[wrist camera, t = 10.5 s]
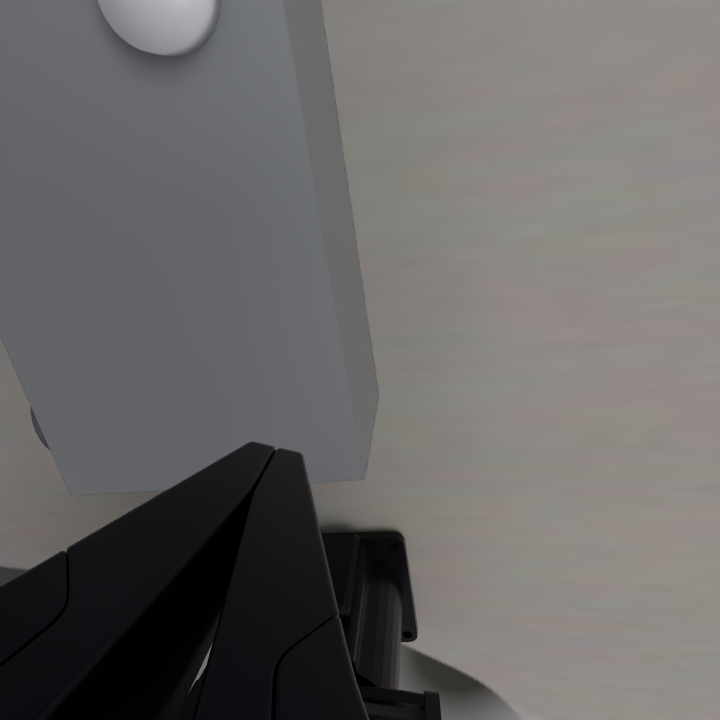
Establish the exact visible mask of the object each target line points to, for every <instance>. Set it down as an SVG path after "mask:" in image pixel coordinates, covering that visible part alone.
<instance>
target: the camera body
mask: <svg viewBox="0 0 720 720" xmlns="http://www.w3.org/2000/svg"><path fill="white" fill-rule="evenodd" d="M0 337H1V339H2V342H3V344H4V346H5V348H6V351H7V353H8V355H9V357H10V360H11V362H12V364H13V367H14V369H15V371H16V373H17V376H18V378H19V380H20V382H21V385H22V387H23V389H24V391H25V394H26V396H27V398H28V401H29V403H30V405H31V417H32V422H33V425H34V428H35V431H36V433H37V435H38V437H39V439H40V440H41V442H42V443H43V444H44V445H45V446H46V447H47V448H48V449H49V450H50V451H51V453H52V455H53V457H54V460H55V462H56V464H57V466H58V469H59V471H60V473H61V475H62V478H63V480H64V482H65V484H66V487H67V489H68V491H69V494H70V495H87V494H107V493H126V492H145V491H164V490H168V489H169V488H171V487H173V486H175V485H176V484H178V483H180V482H181V481H183V480H185V479H187V478H188V477H190V476H192V475H193V474H195V473H197V472H199V471H200V470H202V469H204V468H205V467H207V466H209V465H211V464H212V463H214V462H216V461H217V460H219V459H221V458H223V457H224V456H226V455H228V454H229V453H231V452H233V451H235V450H236V449H238V448H240V447H242V446H243V445H245V444H247V443H249V442H252V441H253V442H258V443H262V444H266V445H271V446H274V447H275V449H276V450H277V449H279V448H283V449H288V450H292V451H296V452H300V453H302V455H303V457H304V461H305V465H306V470H307V474H308V479H309V483H316V482H335V481H354V480H365V476H366V470H367V464H368V458H369V452H370V446H371V440H372V434H373V428H374V421H375V415H376V409H377V403H378V397H379V393H378V386H377V380H376V373H375V366H374V359H373V352H372V346H371V339H370V332H369V325H368V318H367V312H366V305H365V298H364V291H363V284H362V278H361V271H360V264H359V257H358V250H357V244H356V237H355V230H354V223H353V217H352V210H351V203H350V196H349V189H348V183H347V176H346V169H345V162H344V155H343V149H342V142H341V135H340V128H339V121H338V115H337V108H336V101H335V94H334V87H333V81H332V74H331V67H330V60H329V53H328V47H327V40H326V33H325V26H324V19H323V13H322V6H321V0H0Z"/></svg>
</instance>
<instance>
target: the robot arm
mask: <svg viewBox="0 0 720 720" xmlns="http://www.w3.org/2000/svg"><path fill="white" fill-rule="evenodd" d="M392 542H394V543H397V544H396V545H392V544H390V543H392ZM417 629H418V627H417V620H416V613H415V606H414V599H413V592H412V585H411V578H410V571H409V564H408V557H407V550H406V543H405V539H404V537H403V536H402V535H401V534H400V533H398V532H370V533H343V534H321V532H320V527H319V523H318V518H317V514H316V510H315V505H314V501H313V496H312V492H311V487H310V483H309V479H308V474H307V470H306V465H305V461H304V457H303V455H302V453H300V452H296V451H292V450H288V449H283V448H279V449H277V450H276V449H275V447H274V446H271V445H266V444H262V443H258V442H253V441H252V442H249V443H247V444H245V445H243V446H242V447H240V448H238V449H236V450H235V451H233V452H231V453H229V454H228V455H226V456H224V457H223V458H221V459H219V460H217V461H216V462H214V463H212V464H211V465H209V466H207V467H205V468H204V469H202V470H200V471H199V472H197V473H195V474H193V475H192V476H190V477H188V478H187V479H185V480H183V481H181V482H180V483H178V484H176V485H175V486H173V487H171V488H169V489H168V490H166V491H164V492H163V493H161V494H159V495H157V496H156V497H154V498H152V499H150V500H149V501H147V502H145V503H144V504H142V505H140V506H138V507H137V508H135V509H133V510H132V511H130V512H128V513H126V514H125V515H123V516H121V517H120V518H118V519H116V520H114V521H113V522H111V523H109V524H108V525H106V526H104V527H102V528H101V529H99V530H97V531H96V532H94V533H92V534H90V535H89V536H87V537H85V538H84V539H82V540H80V541H78V542H77V543H75V544H73V545H71V546H70V547H68V549H67V553H66V552H65V551H61V552H59V553H57V554H56V555H54V556H52V557H50V558H49V559H47V560H45V561H44V562H42V563H40V564H38V565H37V566H35V567H33V568H31V569H30V570H28V571H26V572H24V573H22V574H21V575H19V576H17V577H15V578H13V579H11V580H10V581H8V582H6V583H4V584H2V585H1V586H0V720H441V711H440V699H439V693H438V692H430V691H424V693H416V692H410V691H403V690H399V678H400V656H401V642H412V641H414V640H415V639H416V638H417ZM212 642H213V643H212ZM211 644H212V647H211ZM210 647H211V651H210V655H209V658H208V662H207V666H206V667H205V669H204V671H203V673H202V674H201V676H200V678H199V679H198V680H196V682H195V683H194V685H193V687H192V688H191V686H192V684H193V682H194V680H195V678H196V676H197V674H198V672H199V670H200V668H201V665H202V663H203V661H204V659H205V657H206V655H207V653H208V651H209V649H210ZM190 688H191V690H190ZM189 691H190V692H189Z"/></svg>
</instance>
